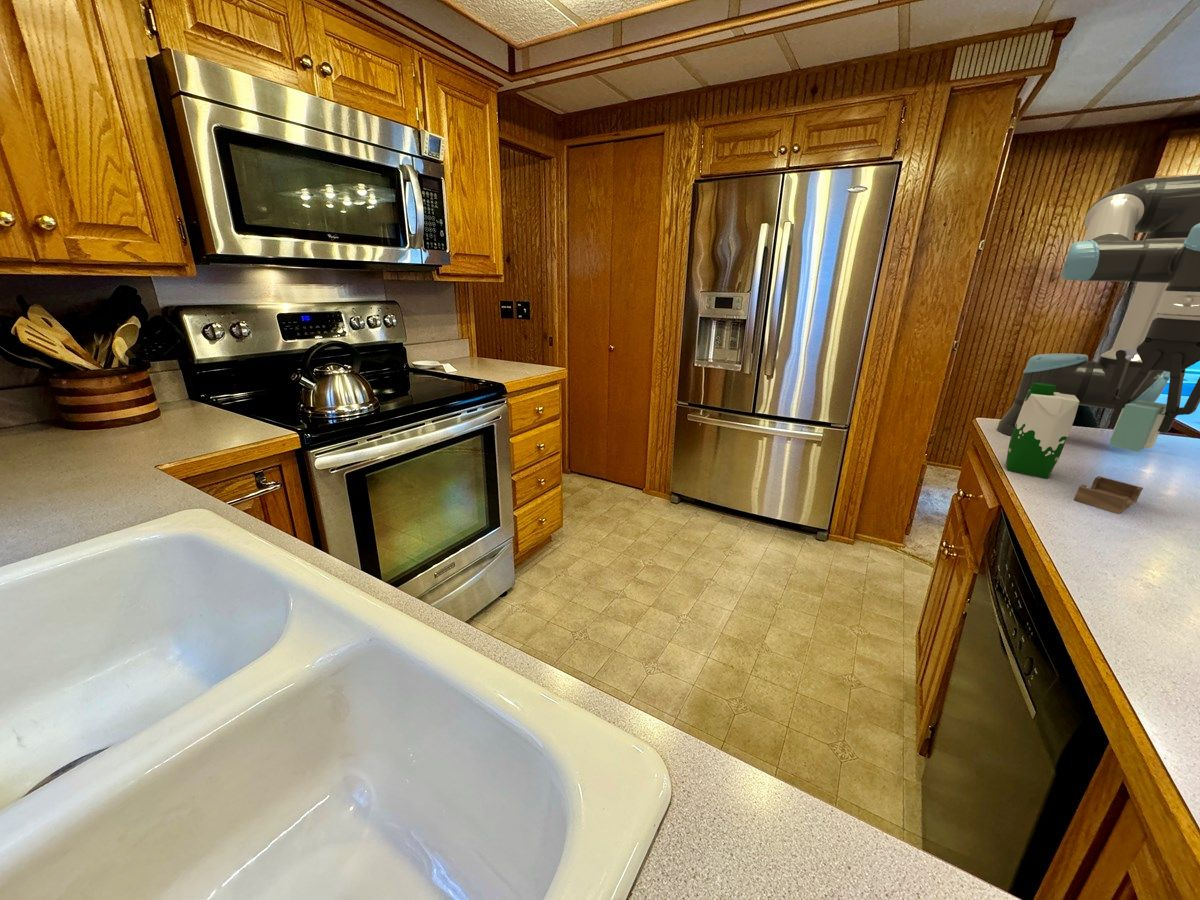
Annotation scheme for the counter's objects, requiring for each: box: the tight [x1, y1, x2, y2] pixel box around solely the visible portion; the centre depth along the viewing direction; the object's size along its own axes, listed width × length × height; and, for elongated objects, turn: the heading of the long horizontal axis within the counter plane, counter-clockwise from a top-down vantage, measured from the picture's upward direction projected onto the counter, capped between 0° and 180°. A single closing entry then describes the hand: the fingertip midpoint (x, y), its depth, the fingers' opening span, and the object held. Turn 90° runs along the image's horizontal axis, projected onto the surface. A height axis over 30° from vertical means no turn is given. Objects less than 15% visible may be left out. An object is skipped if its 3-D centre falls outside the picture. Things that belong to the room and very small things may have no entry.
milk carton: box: [1005, 382, 1080, 479], centre depth 108 cm, size 9×9×20 cm
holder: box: [1073, 475, 1144, 515], centre depth 96 cm, size 12×7×3 cm, turn 121°
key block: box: [1108, 400, 1167, 453], centre depth 91 cm, size 9×4×8 cm, turn 121°
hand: (1130, 443), depth 92 cm, fingers closed on key block, 4 cm apart
